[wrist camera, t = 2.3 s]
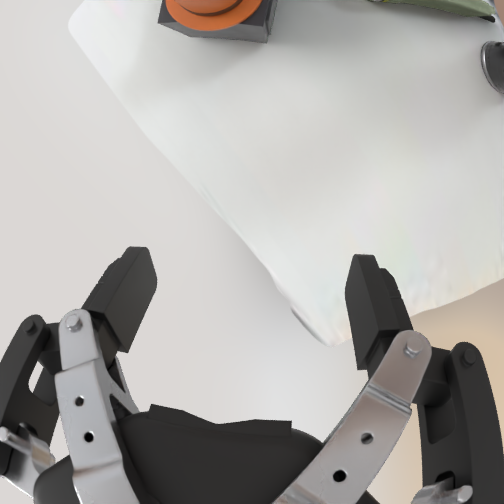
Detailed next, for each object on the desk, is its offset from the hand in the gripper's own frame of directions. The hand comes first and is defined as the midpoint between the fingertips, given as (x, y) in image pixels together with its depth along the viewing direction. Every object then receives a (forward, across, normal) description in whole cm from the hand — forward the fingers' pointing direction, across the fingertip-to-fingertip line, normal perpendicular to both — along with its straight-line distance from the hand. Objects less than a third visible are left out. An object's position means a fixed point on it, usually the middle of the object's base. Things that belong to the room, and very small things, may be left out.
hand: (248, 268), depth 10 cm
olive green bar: (+31, +24, +24) cm, 46 cm away
